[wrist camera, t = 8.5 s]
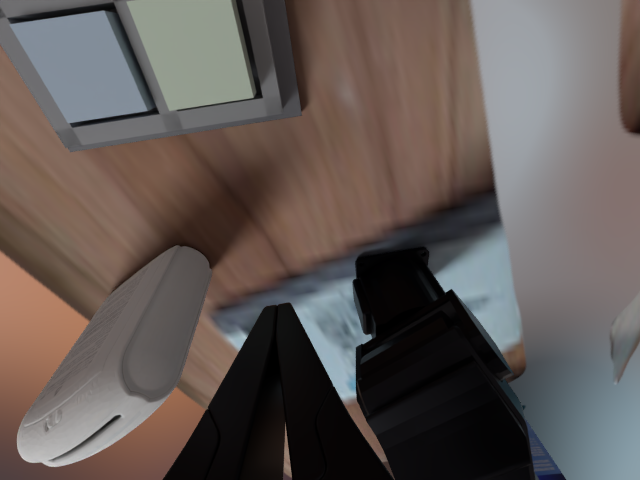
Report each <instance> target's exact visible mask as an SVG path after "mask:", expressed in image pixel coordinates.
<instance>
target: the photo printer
mask: <svg viewBox="0 0 640 480" xmlns="http://www.w3.org/2000/svg"><path fill="white" fill-rule="evenodd" d="M211 277H212V270H211V269H210V268H209V262H208V260H207V259H206V257H205V256H204V255H203V254H202V253H200V252H199V251H197V250H195V249H193V248H190V247H186V246H183V247H180V246H179V245H176V246H174V247H172V248H170V249H168V250H166V251H165V252H163V253H162V254H160V255H159V256H158V257H156V258H155V259H153V260H152V261H151V262H150V263H148V264H147V265H146V266H144V267H143V268H142V269H140V270H139V271H138V272H137V273H135V274H134V275H133V276H132V277H130V278H129V279H128V280H126V281H125V282H124V283H123V284H122V285H120V286H119V287H118V288H117V289H116V290H115V291H114V292H112V293H111V294H110V295H109V296H108V297H107V299H106V300H105V301H104V302H103V303H102V305H101V306H100V308H99V309H98V311H97V312H96V314H95V315H94V317H93V318H92V320H91V321H90V322H89V324H88V325H87V327H86V329H85V330H84V331H83V333H82V334H81V336H80V337H79V338H78V340H77V341H76V343H75V344H74V346H73V347H72V348H71V350H70V352H69V353H68V355H67V356H66V357H65V359H64V360H63V361H62V363H61V364H60V366H59V367H58V369H57V370H56V371H55V373H54V374H53V376H52V377H51V379H50V380H49V382H48V383H47V385H46V386H45V387H44V389H43V390H42V392H41V393H40V395H39V396H38V397H37V399H36V400H35V402H34V403H33V405H32V406H31V407H30V409H29V410H28V412H27V413H26V415H25V417H24V419H23V420H22V423H21V425H20V427H19V431H18V435H17V448H18V451H19V453H20V455H21V457H22V458H23V459H24V460H25V461H27V462H30V463H38V462H42V463H44V464H45V465H47V466H50V467H51V466H52V467H58V466H63V465H67V464H71V463H74V462H77V461H80V460H83V459H85V458H87V457H89V456H91V455H94V454H95V453H98V452H100V451H101V450H103V449H105V448H107V447H108V446H110V445H112V444H113V443H115V442H116V441H118V440H119V439H121V438H122V437H124V436H125V435H126V434H128V433H129V432H130V431H132V430H133V429H135V428H136V427H137V426H138V425H140V423H142V422H143V421H144V420H146V419H147V418H148V417H149V416H150V415H151V414H152V413H153V412H154V411H156V410H157V409H158V408H159V407H160V405H161V404H162V403H163V402H164V401H165V400H166V399H167V398H168V396H169V395H170V394H171V393H172V391H173V390H174V388H175V387H176V386H177V384H178V382H179V380H180V377H181V375H182V372H183V368H184V365H185V362H186V359H187V356H188V352H189V349H190V346H191V343H192V339H193V336H194V333H195V330H196V326H197V324H198V320H199V317H200V313H201V310H202V307H203V304H204V300H205V297H206V294H207V291H208V287H209V284H210V280H211Z"/></svg>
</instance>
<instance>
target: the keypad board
mask: <svg viewBox="0 0 640 480" xmlns="http://www.w3.org/2000/svg"><path fill="white" fill-rule="evenodd" d="M127 1H134V0H0V44H1V46H2V48H3V49H4V51H5V52H6V54H7V55H8V57H9V59H10V60H11V62H12V63H13V65H14V67H15V68H16V70H17V71H18V73H19V75H20V76H21V78H22V79H23V81H24V83H25V84H26V86H27V87H28V89H29V90H30V92H31V94H32V95H33V97H34V98H35V100H36V102H37V103H38V105H39V106H40V108H41V110H42V111H43V113H44V114H45V116H46V117H47V119H48V121H49V122H50V124H51V125H52V127H53V129H54V130H55V132H56V133H57V135H58V137H59V138H60V140H61V141H62V143H63V145H64V146H65V148H68V149H69V151H70V152H73V151H80V150H86V149H92V148H99V147H105V146H112V145H118V144H124V143H131V142H137V141H143V140H150V139H156V138H162V137H169V136H175V135H181V134H188V133H194V132H200V131H207V130H213V129H220V128H226V127H232V126H239V125H245V124H251V123H258V122H264V121H270V120H277V119H283V118H289V117H296V116H302V113H301V107H300V100H299V93H298V87H297V80H296V73H295V67H294V60H293V53H292V47H291V40H290V33H289V27H288V20H287V13H286V7H285V0H236V4H237V8H238V13H239V17H240V21H241V26H242V30H243V35H244V39H245V44H246V48H247V53H248V57H249V61H250V66H251V70H252V75H253V79H254V84H255V88H256V94H255V96H254V98H249V99H243V100H236V101H230V102H224V103H217V104H211V105H204V106H198V107H191V108H185V109H178V110H172V111H169V109H168V106H167V104H166V101H165V99H164V96H163V94H162V91H161V88H160V86H159V83H158V81H157V78H156V76H155V73H154V71H153V68H152V66H151V63H150V61H149V58H148V55H147V53H146V50H145V48H144V45H143V43H142V40H141V38H140V35H139V33H138V30H137V28H136V25H135V22H134V20H133V17H132V15H131V12H130V10H129V7H128V5H127ZM98 11H109V12H113V13H118V14H119V17H120V19H121V21H122V24H123V26H124V29H125V31H126V34H127V36H128V38H129V41H130V43H131V46H132V48H133V50H134V53H135V55H136V58H137V60H138V63H139V65H140V67H141V70H142V72H143V75H144V77H145V79H146V82H147V84H148V87H149V89H150V92H151V94H152V96H153V99H154V101H155V104H156V106H157V107H155V108H153V109H151V110H149V111H144V112H138V113H131V114H125V115H118V116H112V117H105V118H99V119H93V120H86V121H80V122H73V123H67V121H66V119H65V117H64V116H63V114H62V112H61V111H60V109H59V107H58V106H57V104H56V102H55V101H54V99H53V97H52V96H51V94H50V92H49V91H48V89H47V87H46V86H45V84H44V82H43V80H42V79H41V77H40V75H39V74H38V72H37V70H36V69H35V67H34V65H33V64H32V62H31V60H30V59H29V57H28V55H27V54H26V52H25V50H24V49H23V47H22V45H21V44H20V42H19V40H18V38H17V37H16V35H15V33H14V32H13V30H12V28H11V27H10V25H9V24H15V23H22V22H29V21H36V20H43V19H50V18H57V17H63V16H70V15H77V14H84V13H91V12H98Z"/></svg>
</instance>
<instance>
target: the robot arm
mask: <svg viewBox="0 0 640 480" xmlns="http://www.w3.org/2000/svg"><path fill="white" fill-rule="evenodd" d="M422 252H424V253H422ZM421 253H422V254H421ZM428 259H429V251H428V250H427V248H426V247H419V248H413V249H408V250H402V251H396V252H390V253H384V254H378V255H373V256H367V257H361V258H358V259H357V260H356V261H355V267H356V279H354V280H353V295H354V302H355V305H356V309H357V312H358V316H359V319H360V323H361V326H362V329H363V333H365V334H366V335H369V334H371V336H372V339H371V340H370V341H368V342H366V343H365V344H361V345H359V346H357V347H356V394H357V402H358V404H359V405H360V408H361V410H362V413H363V415H364V417H365V418H366V421H367V423H368V424H369V426H370V427H371V429H372V430H373V432H374V433H375V435H376V437H377V439H378V441H379V443H380V445H381V446H382V448H383V450H384V453H385V455H386V458H387V460H388V462H389V465H390V468H391V470H392V473H393V475H394V478H395V480H539V478H538V477H537V475H536V474H535V472H534V467H533V460H532V454H531V448H530V441H529V435H528V428H527V424H526V420H525V416H524V413H523V409H522V405H521V402H520V401H519V399H518V397H517V396H516V395H515V393H514V392H513V390H512V389H511V387H510V386H509V385H508V383H507V382H506V380H505V379H506V378H508V377H510V376H512V375H514V374H513V372H512V370H511V369H510V367H509V365H508V364H507V362H506V360H505V359H504V357H503V355H502V354H501V352H500V350H499V349H498V347H497V345H496V344H495V342H494V341H493V340H492V338H491V337H490V336H489V334H488V333H487V332H486V330H485V329H484V327H483V326H482V325H481V323H480V322H479V321H478V319H477V318H476V317H475V316H474V315H473V313H472V312H471V311H470V310H469V309H468V308H467V306H466V305H465V304H464V303H463V302H462V300H461V299H460V298H459V297H458V296H457V295H456V293H455V292H454V291H453V290H452V289H451V290H449V291H448V292H446V293H445V291H444V290H443V288H442V287H441V286H440V284H439V283H438V281H437V280H436V278H435V277H434V275H433V274H432V272H431V271H430V269H429V268H428ZM360 263H363V264H360ZM208 409H209V410H208ZM208 409H207V410H206V411H205V413H204V414H203V417H202V418H201V420H200V422H199V423H198V425H197V427H196V428H195V430H194V432H193V433H192V435H191V437H190V438H189V440H188V442H187V443H186V445H185V447H184V448H183V450H182V451H181V453H180V454H179V456H178V457H177V459H176V460H175V462H174V464H173V465H172V467H171V468H170V469H169V471H168V472H167V474H166V475H165V477H164V478H163V480H283V468H284V443H285V422H286V430H287V438H288V447H289V455H290V464H291V472H292V480H394V479H393V477H392V476H391V475H390V473H389V472H388V470H387V469H386V467H385V466H384V465H383V463H382V462H381V460H380V459H379V457H378V456H377V455H376V453H375V452H374V450H373V449H372V447H371V446H370V445H369V443H368V442H367V440H366V439H365V437H364V436H363V435H362V433H361V432H360V430H359V428H358V427H357V425H356V424H355V422H354V421H353V419H352V418H351V416H350V415H349V413H348V411H347V409H346V408H345V406H344V404H343V402H342V400H341V399H340V397H339V395H338V393H337V391H336V389H335V387H333V383H332V382H331V380H330V378H329V376H328V374H327V372H326V370H325V368H324V366H323V364H322V362H321V360H320V358H319V357H318V355H317V353H316V351H315V349H314V347H313V345H312V343H311V341H310V339H309V337H308V335H307V333H306V332H305V330H304V328H303V326H302V324H301V322H300V320H299V318H298V316H297V314H296V312H295V310H294V308H293V307H292V305H291V303H283V304H279V305H278V306H277V305H271V306H266V307H265V308H264V309H263V311H262V312H261V314H260V316H259V318H258V319H257V321H256V323H255V325H254V326H253V328H252V330H251V332H250V333H249V335H248V337H247V339H246V341H245V342H244V344H243V346H242V348H241V349H240V351H239V353H238V355H237V356H236V358H235V360H234V362H233V364H232V365H231V367H230V369H229V371H228V372H227V374H226V376H225V378H224V379H223V381H222V383H221V385H220V386H219V388H218V390H217V392H216V394H215V395H214V397H213V399H212V401H211V402H210V404H209V406H208Z"/></svg>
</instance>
